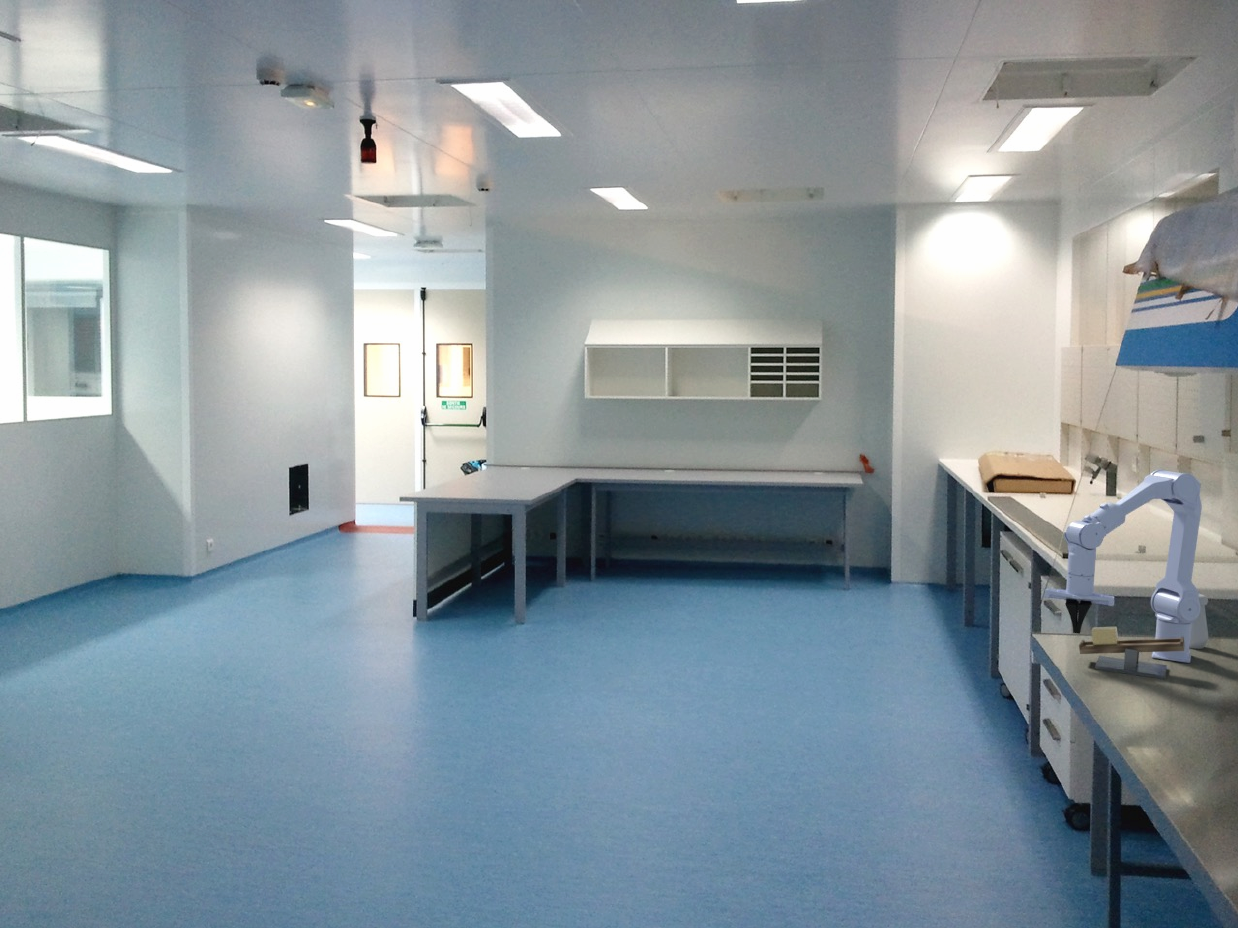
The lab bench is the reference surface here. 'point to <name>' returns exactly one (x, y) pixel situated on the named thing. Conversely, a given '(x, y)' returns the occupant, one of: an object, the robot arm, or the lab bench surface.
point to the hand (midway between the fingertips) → (1076, 632)
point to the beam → (1135, 646)
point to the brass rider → (1104, 636)
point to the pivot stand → (1131, 665)
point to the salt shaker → (1199, 626)
